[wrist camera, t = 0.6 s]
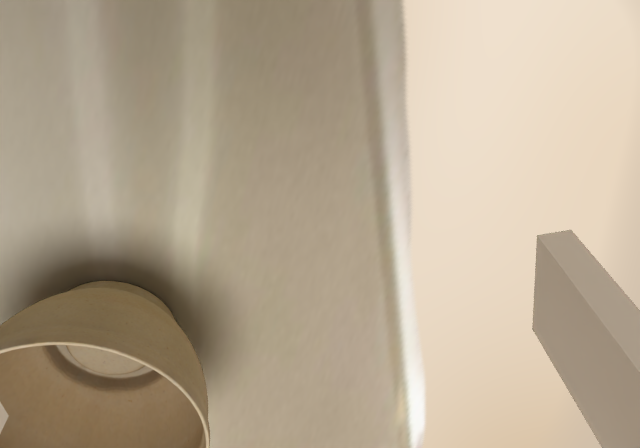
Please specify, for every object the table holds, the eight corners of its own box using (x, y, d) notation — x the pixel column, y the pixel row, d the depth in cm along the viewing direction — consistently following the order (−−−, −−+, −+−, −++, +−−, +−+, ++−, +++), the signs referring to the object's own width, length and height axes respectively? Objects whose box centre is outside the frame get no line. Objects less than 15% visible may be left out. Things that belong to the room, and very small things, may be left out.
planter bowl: (-31, 353, 46) (-109, 474, 37) (63, 199, 40) (-1, 295, 31) (156, 433, 52) (129, 555, 42) (262, 307, 46) (259, 416, 36)
